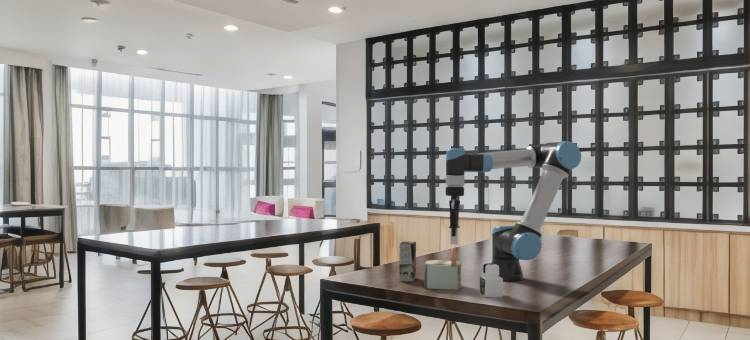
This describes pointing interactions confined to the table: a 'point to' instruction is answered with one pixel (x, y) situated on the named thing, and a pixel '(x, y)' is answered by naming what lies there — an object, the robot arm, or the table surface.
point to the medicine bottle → (491, 281)
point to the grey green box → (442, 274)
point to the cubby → (458, 263)
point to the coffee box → (407, 261)
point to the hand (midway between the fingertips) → (453, 244)
